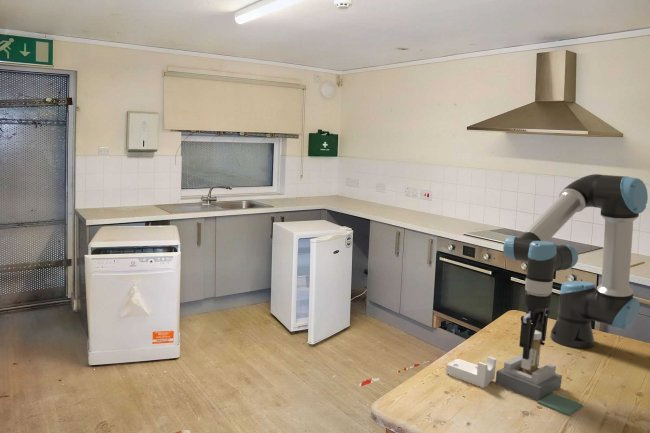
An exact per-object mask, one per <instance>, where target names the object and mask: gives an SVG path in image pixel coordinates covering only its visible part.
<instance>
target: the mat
mask: <svg viewBox="0 0 650 433" xmlns="http://www.w3.org/2000/svg"><path fill="white" fill-rule="evenodd" d="M537 404H539V405H541V406H544V407H546V408H549V409H550V410H552V411H553V410H554V411H555V412H558V413H560V414H563V415H565V416H567V417H570V416H571V415H572V414H575V412H577V411H578V410H580V409H581V408H582V407H583V406H584V405H583V403H580V402H578V401H575V400H573V399H570V398H568V397H566V396H562V395H560V394H557V393H555V392H553V393H551V394H549V395H548V396H546V397H544V398H543V399H541V400H539V401H537Z"/></svg>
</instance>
